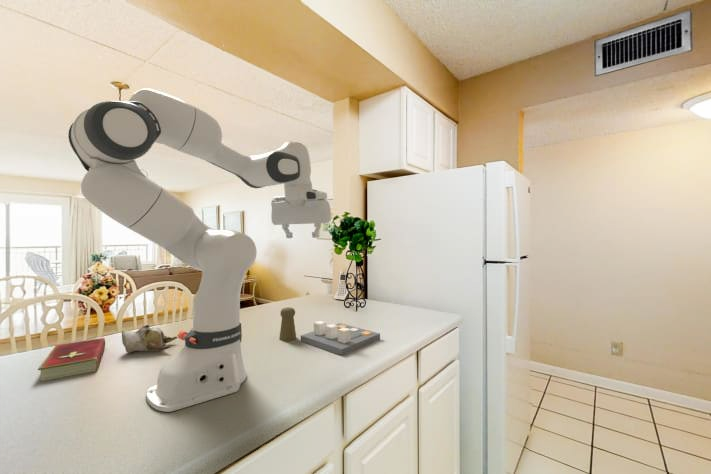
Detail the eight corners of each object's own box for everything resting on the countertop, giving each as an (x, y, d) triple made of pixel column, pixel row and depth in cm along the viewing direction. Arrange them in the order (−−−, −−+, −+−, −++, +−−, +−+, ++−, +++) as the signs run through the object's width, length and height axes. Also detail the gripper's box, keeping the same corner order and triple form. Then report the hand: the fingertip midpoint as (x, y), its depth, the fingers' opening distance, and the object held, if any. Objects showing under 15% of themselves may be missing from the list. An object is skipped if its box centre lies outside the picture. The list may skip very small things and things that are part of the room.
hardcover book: (105, 349, 105) (105, 336, 105) (98, 372, 88) (97, 357, 88) (56, 357, 98) (56, 343, 98) (38, 383, 81) (37, 367, 81)
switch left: (319, 335, 110) (319, 324, 110) (313, 333, 112) (313, 322, 112) (325, 333, 113) (325, 322, 113) (320, 331, 115) (320, 320, 115)
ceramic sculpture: (128, 321, 106) (178, 320, 110) (127, 346, 106) (177, 344, 110) (114, 330, 95) (170, 329, 100) (113, 359, 95) (168, 356, 100)
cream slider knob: (344, 343, 103) (344, 331, 103) (337, 341, 105) (337, 329, 104) (350, 341, 105) (350, 329, 105) (344, 339, 107) (344, 327, 107)
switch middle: (331, 339, 107) (331, 327, 106) (325, 337, 108) (325, 325, 108) (337, 337, 109) (337, 325, 109) (331, 335, 111) (331, 324, 111)
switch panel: (341, 355, 98) (341, 348, 98) (300, 341, 111) (300, 334, 111) (380, 339, 113) (380, 333, 113) (339, 328, 126) (339, 322, 126)
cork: (298, 335, 117) (298, 306, 117) (293, 341, 111) (293, 310, 111) (282, 335, 118) (282, 305, 117) (276, 340, 112) (276, 309, 111)
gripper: (265, 197, 102) (269, 239, 103) (323, 193, 95) (326, 238, 97) (276, 197, 108) (279, 237, 109) (331, 193, 101) (334, 235, 103)
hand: (302, 237), depth 103 cm, fingers open, 8 cm apart
